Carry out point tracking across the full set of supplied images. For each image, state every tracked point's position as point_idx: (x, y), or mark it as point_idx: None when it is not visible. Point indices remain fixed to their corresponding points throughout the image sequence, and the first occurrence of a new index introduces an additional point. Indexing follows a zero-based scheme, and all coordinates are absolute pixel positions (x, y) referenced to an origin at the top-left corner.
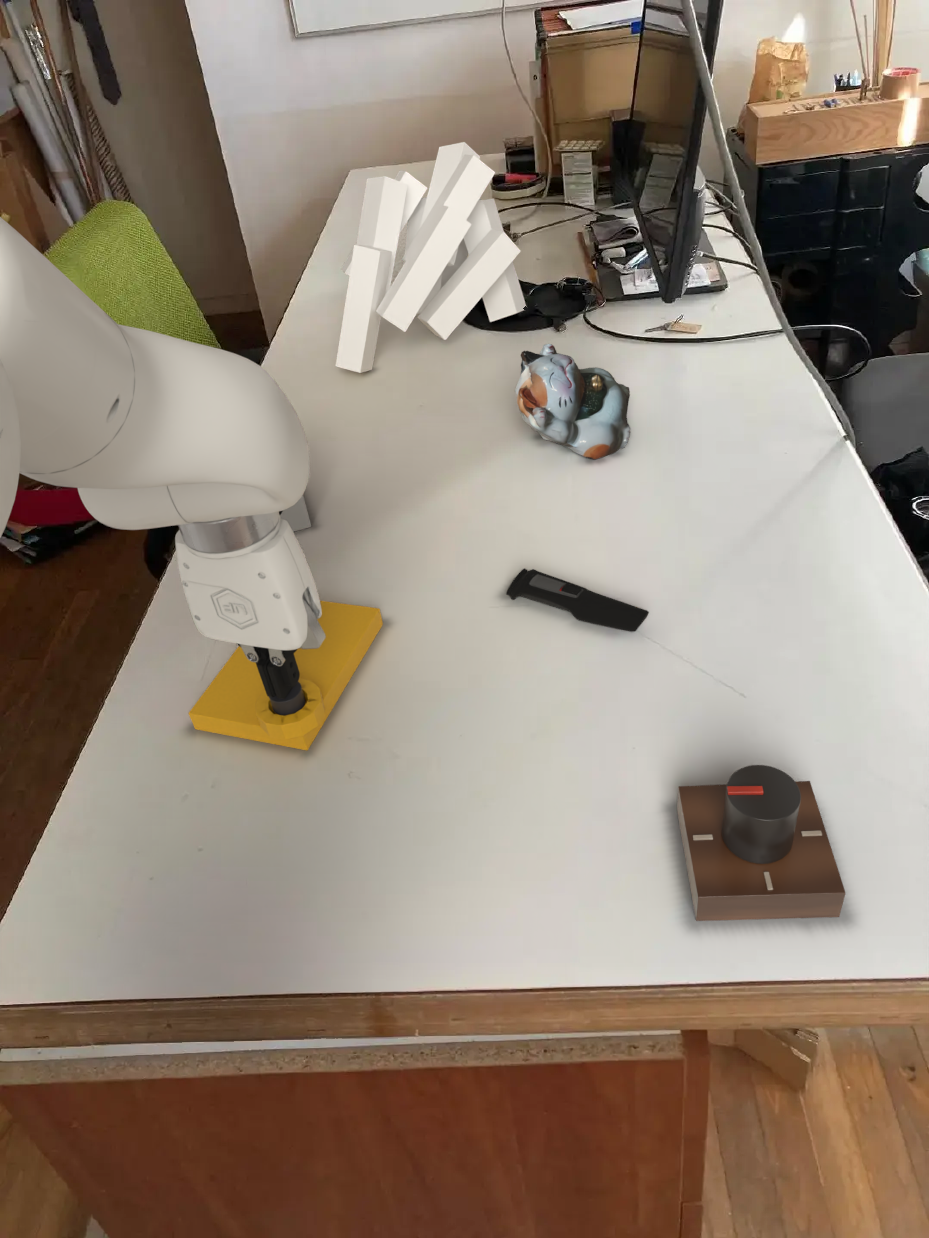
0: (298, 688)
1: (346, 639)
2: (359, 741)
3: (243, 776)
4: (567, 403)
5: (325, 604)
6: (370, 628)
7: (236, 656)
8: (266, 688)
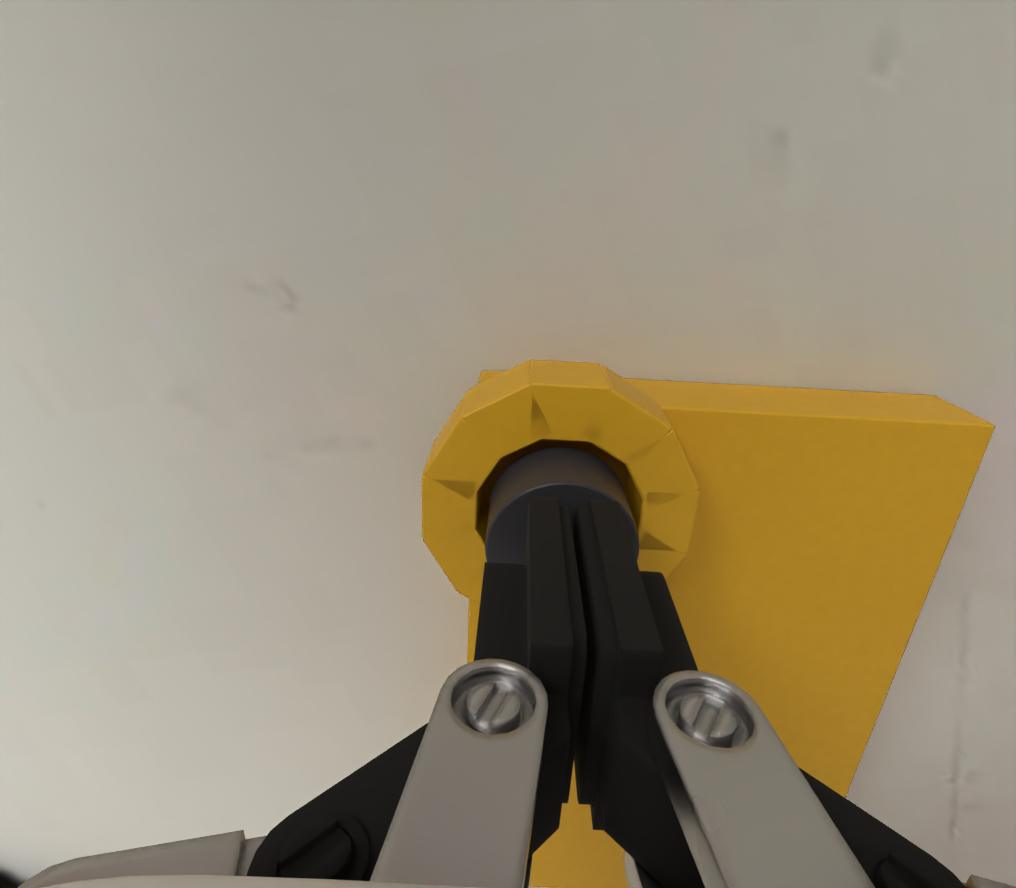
0: None
1: None
2: (329, 436)
3: (672, 213)
4: None
5: None
6: None
7: (867, 689)
8: (614, 528)
